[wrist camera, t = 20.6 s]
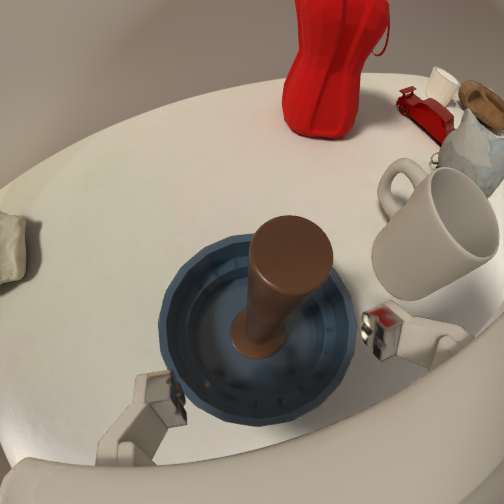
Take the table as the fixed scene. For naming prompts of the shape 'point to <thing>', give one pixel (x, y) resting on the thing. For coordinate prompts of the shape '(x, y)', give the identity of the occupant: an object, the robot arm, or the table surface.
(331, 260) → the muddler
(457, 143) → the figurine
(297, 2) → the water bottle
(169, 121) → the table surface
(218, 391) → the stir bowl
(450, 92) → the white tapered cup
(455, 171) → the mug
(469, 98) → the bowl
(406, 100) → the toy car
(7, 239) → the decorative stone
